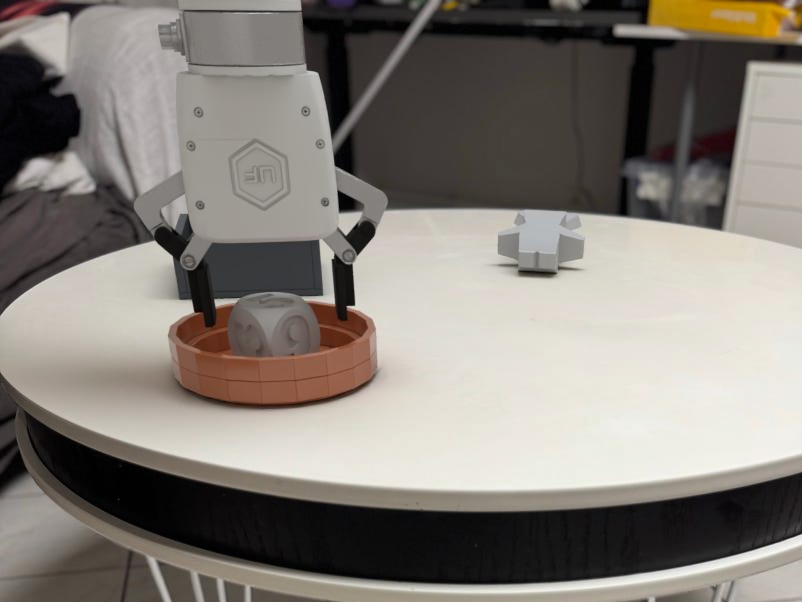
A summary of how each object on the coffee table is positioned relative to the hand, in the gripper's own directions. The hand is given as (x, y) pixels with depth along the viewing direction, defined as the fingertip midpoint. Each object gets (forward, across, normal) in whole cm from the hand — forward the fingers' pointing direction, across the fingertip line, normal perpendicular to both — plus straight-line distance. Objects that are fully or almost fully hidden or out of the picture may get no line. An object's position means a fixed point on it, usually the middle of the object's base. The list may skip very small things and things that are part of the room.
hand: (277, 319), depth 68 cm
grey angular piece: (+5, +30, +34) cm, 45 cm away
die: (+4, 0, 0) cm, 4 cm away
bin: (+4, -2, +29) cm, 29 cm away
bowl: (+4, 0, 0) cm, 4 cm away
